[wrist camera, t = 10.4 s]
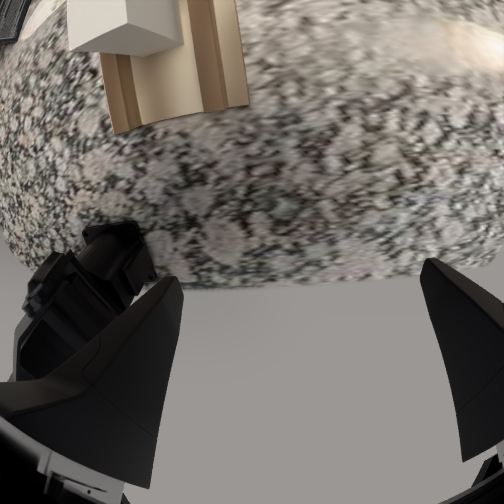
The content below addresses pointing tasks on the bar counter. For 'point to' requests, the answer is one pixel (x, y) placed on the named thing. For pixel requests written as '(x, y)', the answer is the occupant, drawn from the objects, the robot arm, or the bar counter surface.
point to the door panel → (124, 26)
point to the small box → (11, 19)
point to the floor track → (180, 71)
